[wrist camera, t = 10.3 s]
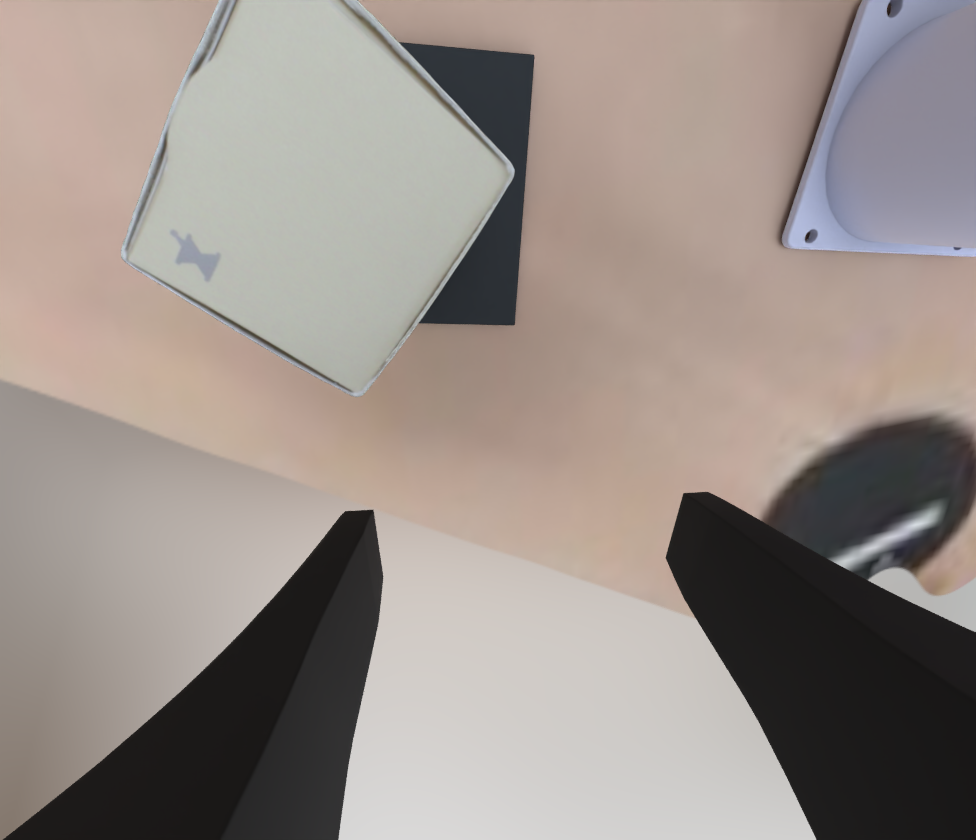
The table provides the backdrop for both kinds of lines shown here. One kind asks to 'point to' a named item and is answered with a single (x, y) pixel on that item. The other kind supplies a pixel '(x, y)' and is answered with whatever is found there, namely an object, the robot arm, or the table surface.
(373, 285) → the product carton box
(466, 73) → the pad
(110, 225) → the table surface
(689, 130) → the table surface
